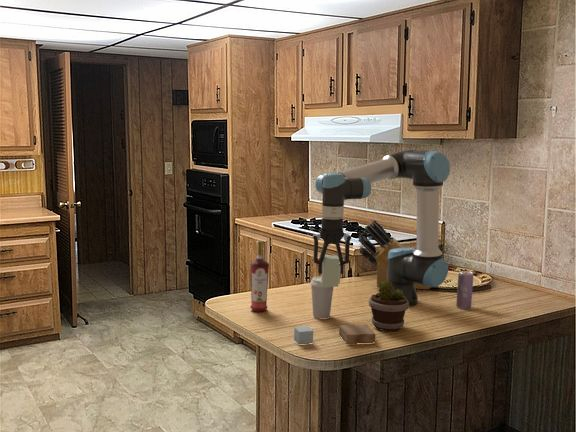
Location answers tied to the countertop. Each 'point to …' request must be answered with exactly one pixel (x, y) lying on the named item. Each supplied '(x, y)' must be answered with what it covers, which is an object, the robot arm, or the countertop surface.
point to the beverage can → (464, 290)
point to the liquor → (259, 280)
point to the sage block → (331, 271)
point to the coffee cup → (321, 298)
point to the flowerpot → (388, 307)
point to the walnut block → (356, 334)
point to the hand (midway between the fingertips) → (330, 282)
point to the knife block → (380, 251)
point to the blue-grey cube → (303, 335)
